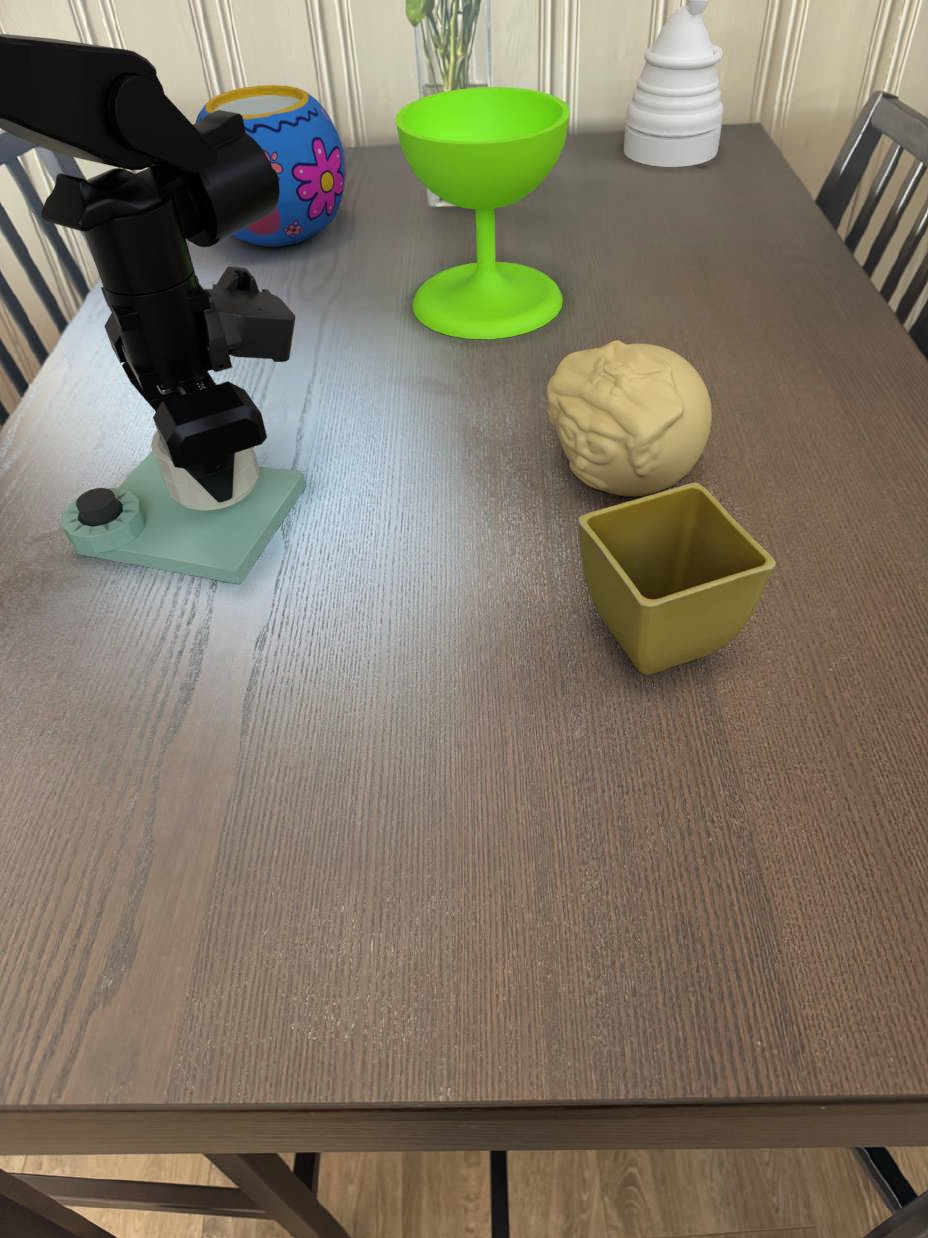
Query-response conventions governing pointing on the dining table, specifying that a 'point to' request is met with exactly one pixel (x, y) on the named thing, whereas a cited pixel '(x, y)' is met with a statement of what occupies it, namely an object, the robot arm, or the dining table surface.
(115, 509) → the button
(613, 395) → the sculpture
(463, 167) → the wineglass
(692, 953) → the dining table surface
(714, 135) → the honey pot
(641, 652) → the flower pot
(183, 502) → the bowl
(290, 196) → the ceramic pot
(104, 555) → the scale
